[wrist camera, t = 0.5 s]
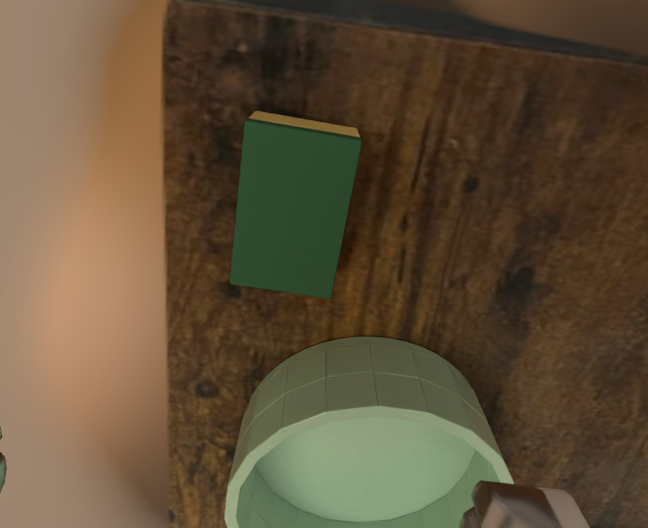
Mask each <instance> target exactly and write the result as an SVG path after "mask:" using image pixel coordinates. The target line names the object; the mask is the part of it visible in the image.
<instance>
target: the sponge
mask: <svg viewBox="0 0 648 528" xmlns="http://www.w3.org/2000/svg"><path fill="white" fill-rule="evenodd" d="M361 144H362V141H361V138H360V136H359V133H358V130H357V129H356V128H353V127H347V126H341V125H335V124H329V123H324V122H318V121H312V120H306V119H301V118H295V117H289V116H283V115H278V114H272V113H266V112H260V111H255V112H254V113H253V114H252V115H251V116H250V117H249V118H248V119H247V120H246V121H245V122H244V133H243V143H242V154H241V165H240V176H239V186H238V197H237V208H236V219H235V229H234V240H233V251H232V262H231V272H230V284H234V285H241V286H247V287H254V288H261V289H268V290H274V291H281V292H288V293H295V294H301V295H308V296H315V297H322V298H328V299H330V298H331V296H332V291H333V286H334V281H335V276H336V270H337V265H338V260H339V255H340V250H341V245H342V240H343V235H344V230H345V225H346V220H347V215H348V210H349V205H350V200H351V195H352V190H353V185H354V180H355V175H356V170H357V164H358V159H359V154H360V149H361Z"/></svg>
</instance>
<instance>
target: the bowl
mask: <svg viewBox="0 0 648 528" xmlns="http://www.w3.org/2000/svg"><path fill="white" fill-rule="evenodd" d="M480 480H484V481H492V482H501V483H510V484H515V483H514V481H513V478H512V476H511V474H510V471H509V469H508V467H507V464H506V462H505V460H504V457H503V455H502V453H501V451H500V448H499V446H498V444H497V441H496V439H495V437H494V434H493V432H492V430H491V427H490V425H489V423H488V420H487V418H486V416H485V414H484V411H483V409H482V407H481V405H480V403H479V400H478V398H477V396H476V393H475V392H474V390H473V388H472V387H471V385H470V383H469V382H468V381H467V379H466V378H465V377H464V376H463V375H462V374H461V372H460V371H459V370H457V369H456V368H455V367H454V366H453V365H452V364H451V363H449V362H448V361H447V360H445V359H443V358H442V357H440V356H439V355H437V354H436V353H434V352H432V351H430V350H427V349H425V348H423V347H421V346H418V345H415V344H412V343H409V342H406V341H401V340H397V339H392V338H384V337H373V336H367V337H349V338H341V339H335V340H331V341H327V342H323V343H320V344H317V345H314V346H312V347H309V348H306V349H304V350H302V351H300V352H298V353H296V354H294V355H292V356H290V357H289V358H288V359H286V360H285V361H283V362H282V363H280V364H279V365H278V366H276V367H275V368H274V369H273V370H272V371H271V372H270V373H269V374H268V375H266V377H265V378H264V379H263V380H262V382H261V383H260V384H259V385H258V386H257V388H256V390H255V391H254V393H253V395H252V396H251V398H250V401H249V403H248V406H247V408H246V412H245V414H244V416H243V420H242V424H241V429H240V433H239V438H238V442H237V447H236V451H235V456H234V460H233V465H232V469H231V473H230V478H229V482H228V488H227V496H226V505H225V514H224V517H225V518H224V519H225V522H226V524H227V527H228V528H459V524H460V521H461V519H462V516H463V513H464V512H466V511H467V510H469V509H470V508H472V507H473V506H474V504H473V501H472V498H471V493H472V491H473V489H474V486H475V485H476V484H477V483H478V482H479V481H480Z"/></svg>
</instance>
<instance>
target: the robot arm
mask: <svg viewBox="0 0 648 528" xmlns="http://www.w3.org/2000/svg"><path fill="white" fill-rule="evenodd" d="M1 438H2V433H1V428H0V439H1ZM6 469H7V468H6V460H5V457H4V455H2V453H1V452H0V492H1V489H2V487H3V485H4V482H5V475H6ZM471 498H472V501H473V504H474V506H473V507H472V508H470V509H469V510H467V511H466V512H464V513H463V516H462V519H461V521H460V524H459V528H590V527H589V526H588V524H587V522H586V520H585V518H584V517H583V515H582V513H581V511H580V510H579V508H578V506H577V504H576V503H575V501H574V499H573V497H572V496H571V495H570V494H569V493H568V492H567V491H565V490H560V489H552V488H543V487H533V486H527V485H518V484H510V483H501V482H492V481H484V480H480V481H479V482H478V483H477V484H476V485H475V486H474V489H473V491H472V493H471Z"/></svg>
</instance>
